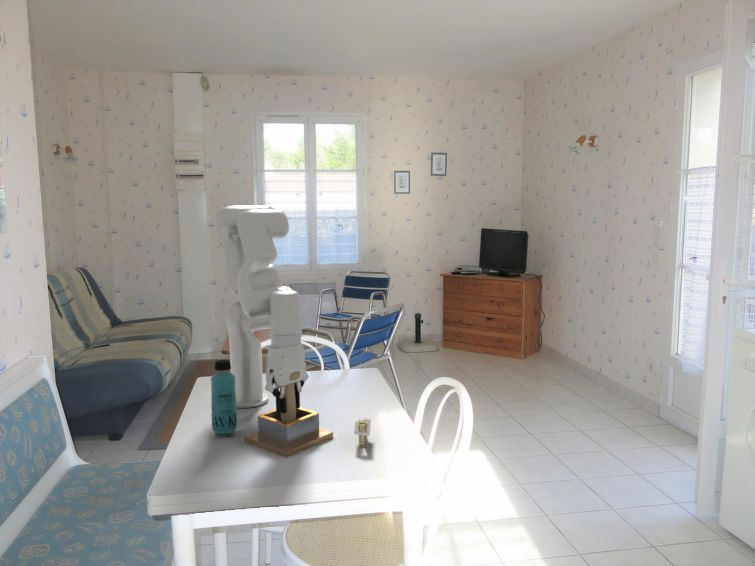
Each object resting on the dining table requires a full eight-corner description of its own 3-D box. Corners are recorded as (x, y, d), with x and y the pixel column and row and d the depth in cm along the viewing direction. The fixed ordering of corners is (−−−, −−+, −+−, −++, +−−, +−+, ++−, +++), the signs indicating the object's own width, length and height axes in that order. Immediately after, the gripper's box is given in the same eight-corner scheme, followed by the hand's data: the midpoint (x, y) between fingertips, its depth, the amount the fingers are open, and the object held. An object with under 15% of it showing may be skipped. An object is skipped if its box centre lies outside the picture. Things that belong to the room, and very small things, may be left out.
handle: (300, 432, 153) (298, 374, 151) (275, 432, 153) (273, 374, 151) (302, 425, 158) (301, 369, 156) (277, 425, 158) (276, 369, 156)
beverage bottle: (208, 434, 160) (204, 360, 158) (231, 428, 164) (228, 356, 162) (219, 441, 155) (215, 365, 153) (242, 434, 159) (239, 360, 157)
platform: (336, 460, 144) (335, 433, 143) (341, 432, 162) (341, 408, 161) (386, 460, 144) (386, 433, 143) (386, 432, 162) (386, 408, 161)
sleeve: (244, 441, 155) (243, 416, 154) (290, 424, 167) (290, 400, 166) (286, 457, 145) (286, 430, 144) (333, 437, 157) (332, 412, 156)
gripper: (300, 332, 161) (301, 398, 164) (250, 343, 148) (252, 415, 151) (320, 335, 157) (321, 404, 159) (270, 347, 144) (272, 422, 146)
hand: (288, 408), depth 155 cm, fingers closed on handle, 4 cm apart
